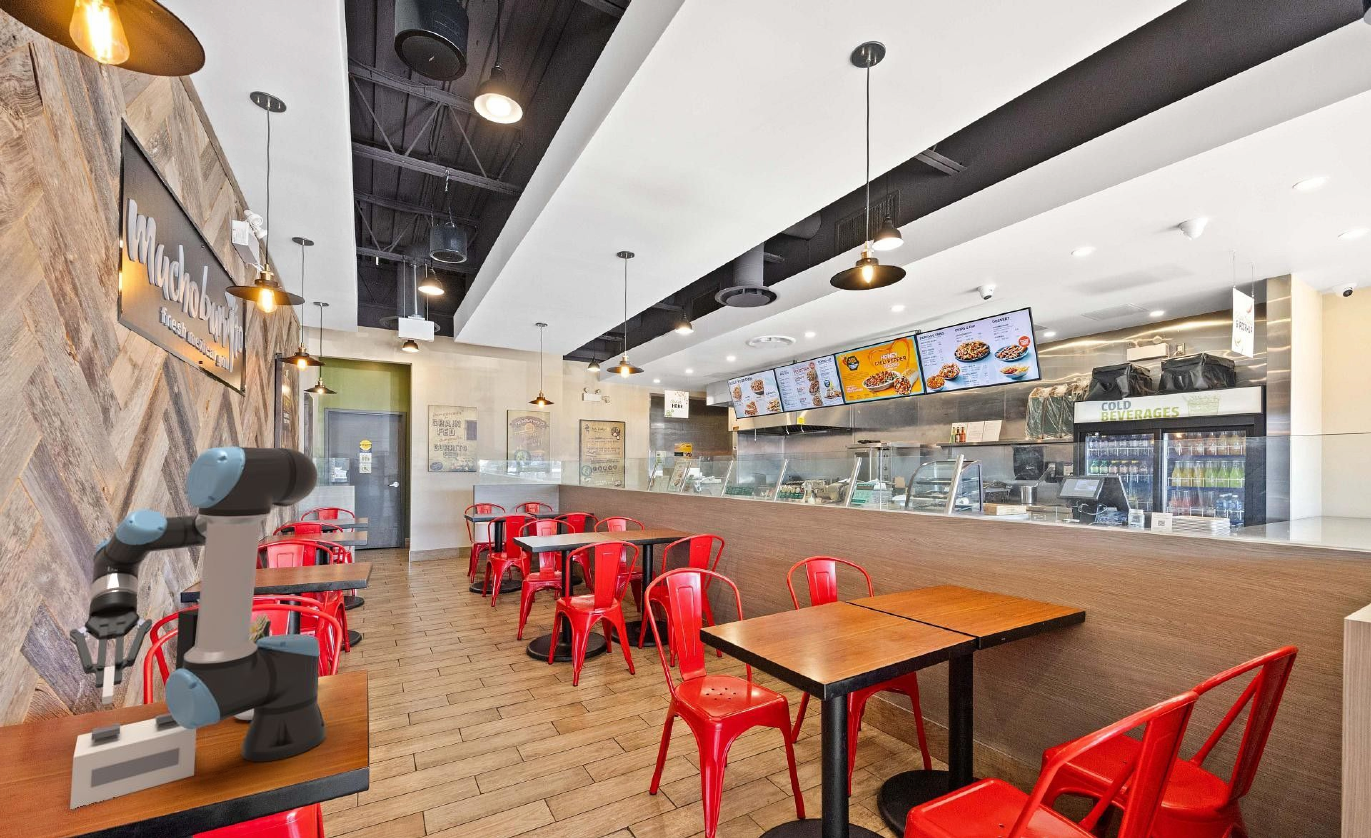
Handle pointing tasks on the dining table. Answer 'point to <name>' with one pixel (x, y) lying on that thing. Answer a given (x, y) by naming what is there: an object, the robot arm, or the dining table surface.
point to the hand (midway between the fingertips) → (107, 699)
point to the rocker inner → (163, 718)
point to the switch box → (131, 760)
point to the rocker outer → (105, 731)
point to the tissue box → (186, 634)
